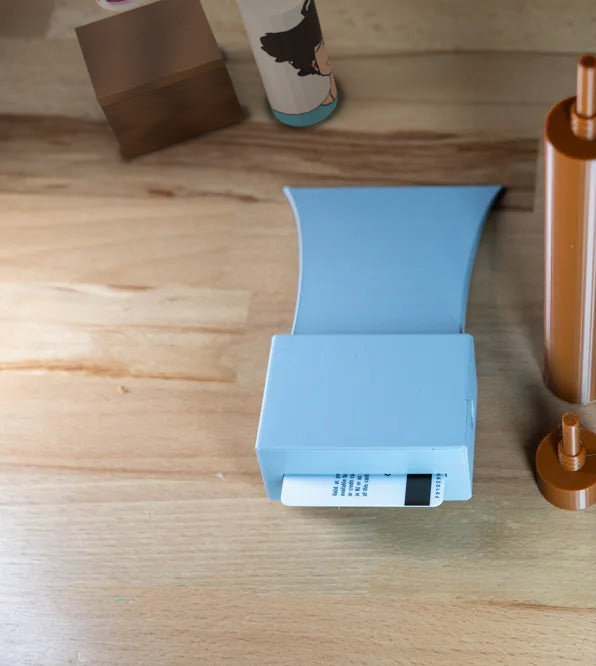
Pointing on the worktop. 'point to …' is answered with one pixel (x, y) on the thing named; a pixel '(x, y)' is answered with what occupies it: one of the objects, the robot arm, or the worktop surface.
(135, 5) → the pill bottle
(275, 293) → the worktop surface
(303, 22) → the cup
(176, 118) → the wooden lidded box
